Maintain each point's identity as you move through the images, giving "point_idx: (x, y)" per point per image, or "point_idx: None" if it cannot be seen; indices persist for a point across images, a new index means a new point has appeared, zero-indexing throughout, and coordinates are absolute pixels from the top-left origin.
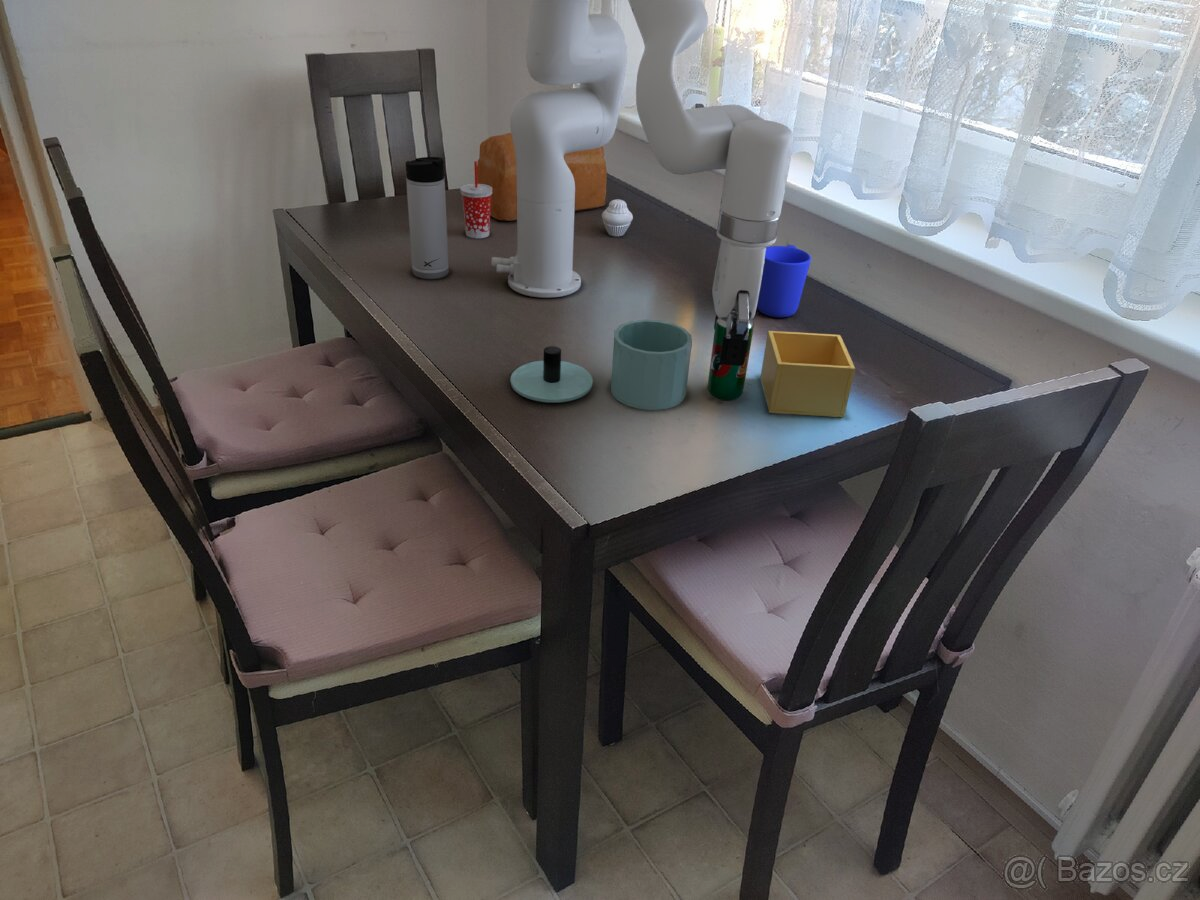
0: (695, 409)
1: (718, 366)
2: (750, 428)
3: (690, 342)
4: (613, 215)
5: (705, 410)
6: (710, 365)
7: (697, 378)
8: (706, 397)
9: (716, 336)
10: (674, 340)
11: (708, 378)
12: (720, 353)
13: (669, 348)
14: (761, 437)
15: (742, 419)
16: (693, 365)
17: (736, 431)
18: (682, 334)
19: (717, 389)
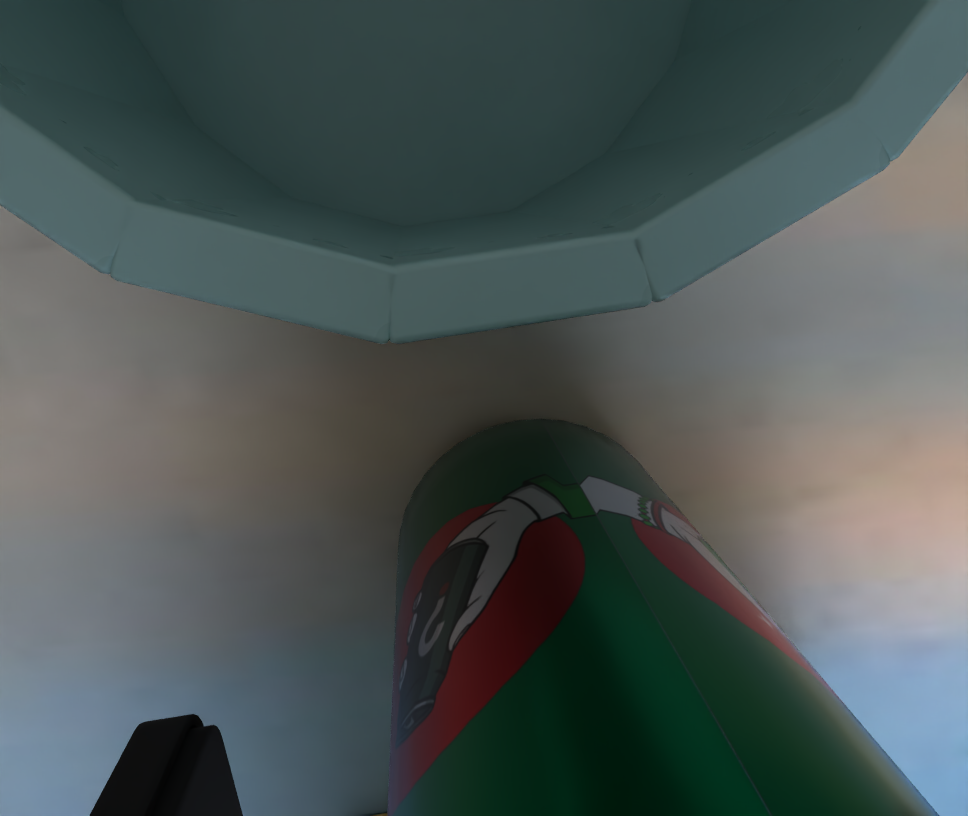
0: (235, 353)
1: (423, 604)
2: (101, 730)
3: (344, 322)
4: None
5: (245, 426)
6: (541, 497)
7: (727, 323)
8: (445, 416)
9: (533, 753)
10: (808, 37)
11: (531, 447)
12: (153, 790)
13: (790, 6)
14: (11, 799)
15: (204, 674)
16: (935, 273)
17: (24, 652)
18: (761, 142)
19: (411, 522)
